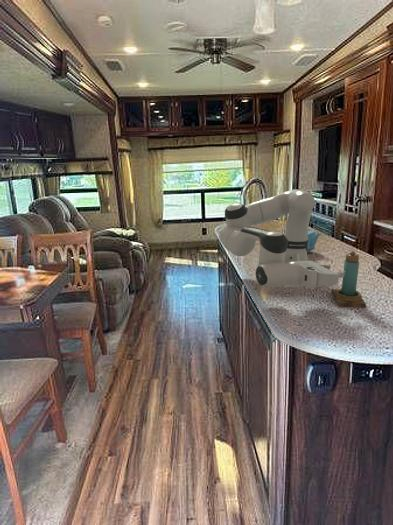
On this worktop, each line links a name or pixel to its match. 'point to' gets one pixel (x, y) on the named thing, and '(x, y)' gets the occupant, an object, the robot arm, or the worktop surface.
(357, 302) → the base
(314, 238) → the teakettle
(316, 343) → the worktop surface
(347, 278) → the pepper mill
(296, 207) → the robot arm
